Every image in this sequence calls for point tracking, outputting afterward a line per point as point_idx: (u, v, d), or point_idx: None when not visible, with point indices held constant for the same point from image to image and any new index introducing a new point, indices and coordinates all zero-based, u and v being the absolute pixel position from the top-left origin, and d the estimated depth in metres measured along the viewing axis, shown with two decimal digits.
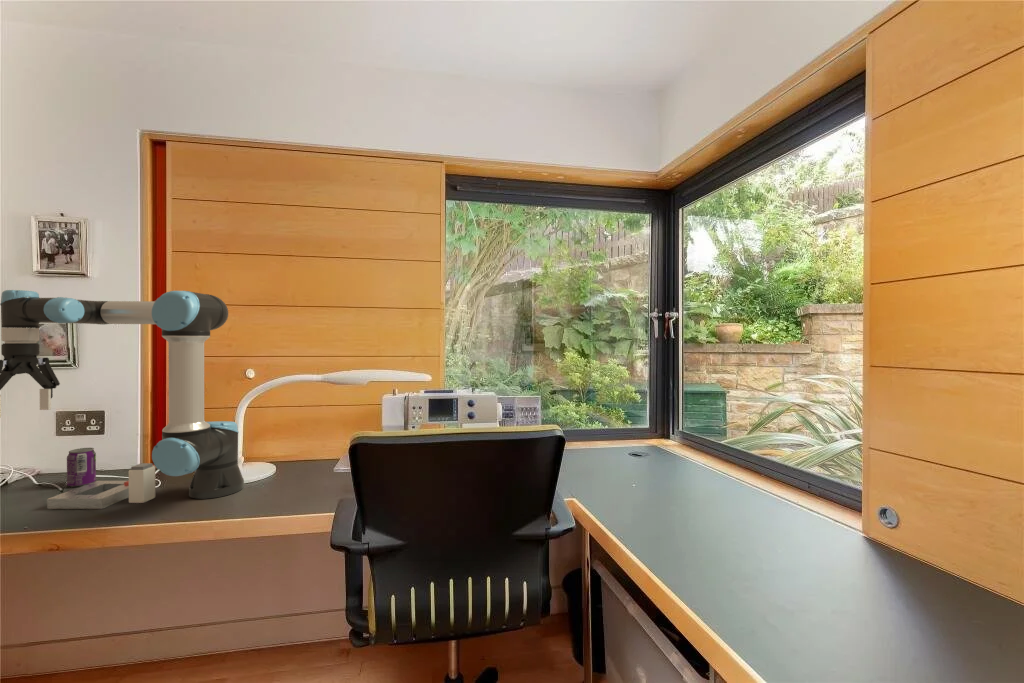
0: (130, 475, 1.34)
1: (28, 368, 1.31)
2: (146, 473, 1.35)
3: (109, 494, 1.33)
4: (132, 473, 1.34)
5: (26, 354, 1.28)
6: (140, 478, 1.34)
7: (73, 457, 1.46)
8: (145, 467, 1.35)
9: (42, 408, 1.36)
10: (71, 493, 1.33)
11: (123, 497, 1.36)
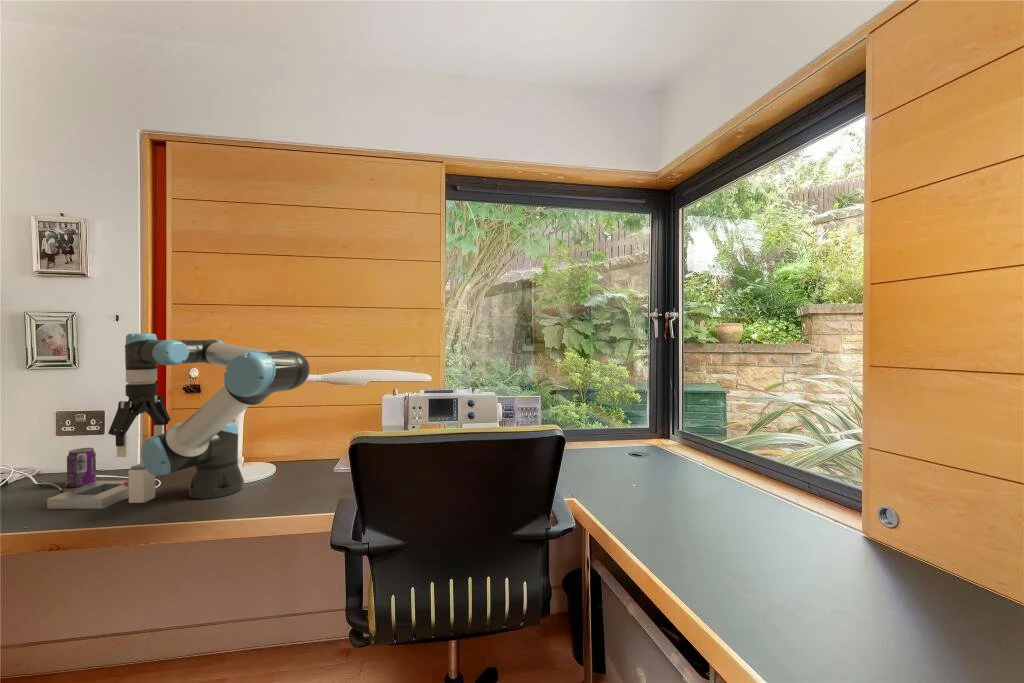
0: (130, 475, 1.34)
1: (147, 407, 1.37)
2: (146, 473, 1.35)
3: (109, 494, 1.33)
4: (132, 473, 1.34)
5: (148, 394, 1.34)
6: (140, 478, 1.34)
7: (73, 457, 1.46)
8: None
9: None
10: (71, 493, 1.33)
11: (123, 497, 1.36)
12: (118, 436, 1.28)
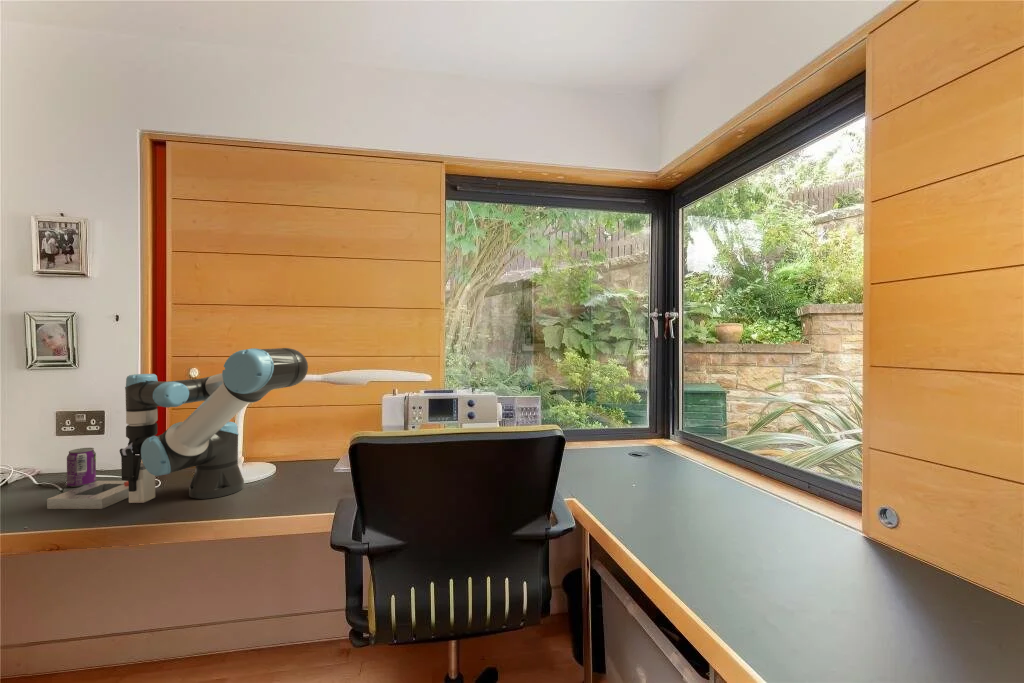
0: None
1: None
2: (146, 473, 1.35)
3: (109, 494, 1.33)
4: None
5: (148, 435, 1.34)
6: (140, 478, 1.34)
7: (73, 457, 1.46)
8: None
9: None
10: (71, 493, 1.33)
11: (123, 497, 1.36)
12: (131, 482, 1.32)
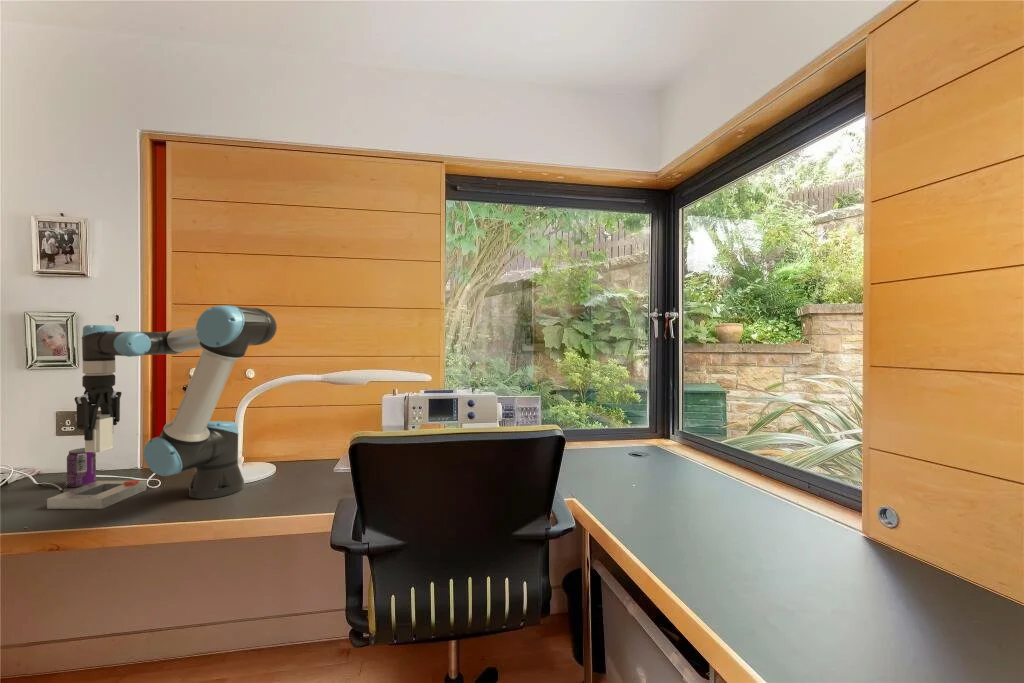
0: None
1: (105, 398, 1.38)
2: (103, 423, 1.36)
3: (109, 494, 1.33)
4: None
5: (105, 386, 1.35)
6: (96, 427, 1.34)
7: (73, 457, 1.46)
8: (102, 417, 1.36)
9: None
10: (71, 493, 1.33)
11: (123, 497, 1.36)
12: (87, 431, 1.33)
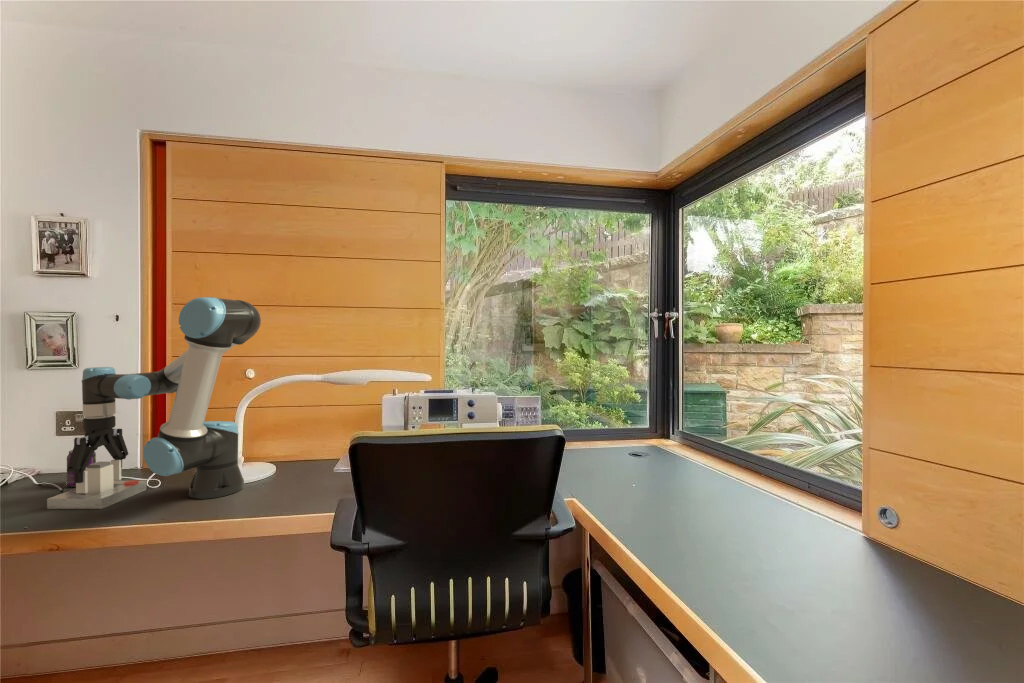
0: None
1: (105, 440, 1.38)
2: (103, 471, 1.36)
3: (109, 494, 1.33)
4: (89, 471, 1.35)
5: (105, 428, 1.35)
6: (97, 476, 1.35)
7: None
8: (102, 465, 1.36)
9: (113, 479, 1.42)
10: (71, 493, 1.33)
11: (123, 497, 1.36)
12: (77, 473, 1.29)
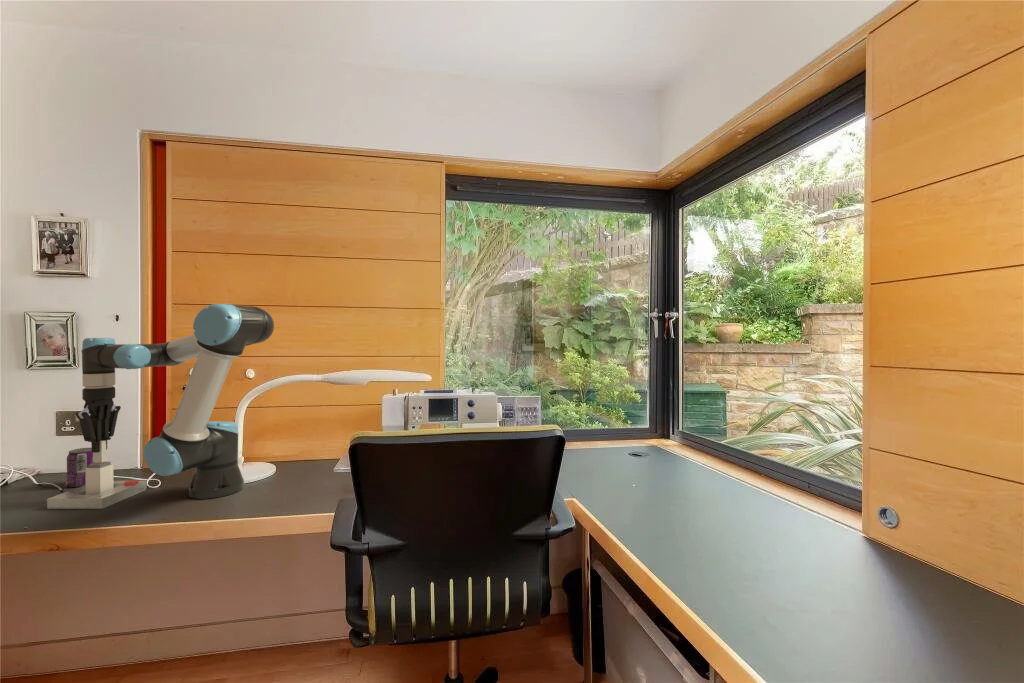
0: (87, 473, 1.35)
1: (105, 411, 1.38)
2: (103, 471, 1.36)
3: (109, 494, 1.33)
4: (89, 471, 1.35)
5: (105, 398, 1.35)
6: (97, 476, 1.35)
7: (73, 457, 1.46)
8: (102, 465, 1.36)
9: None
10: (71, 493, 1.33)
11: (123, 497, 1.36)
12: (94, 443, 1.35)
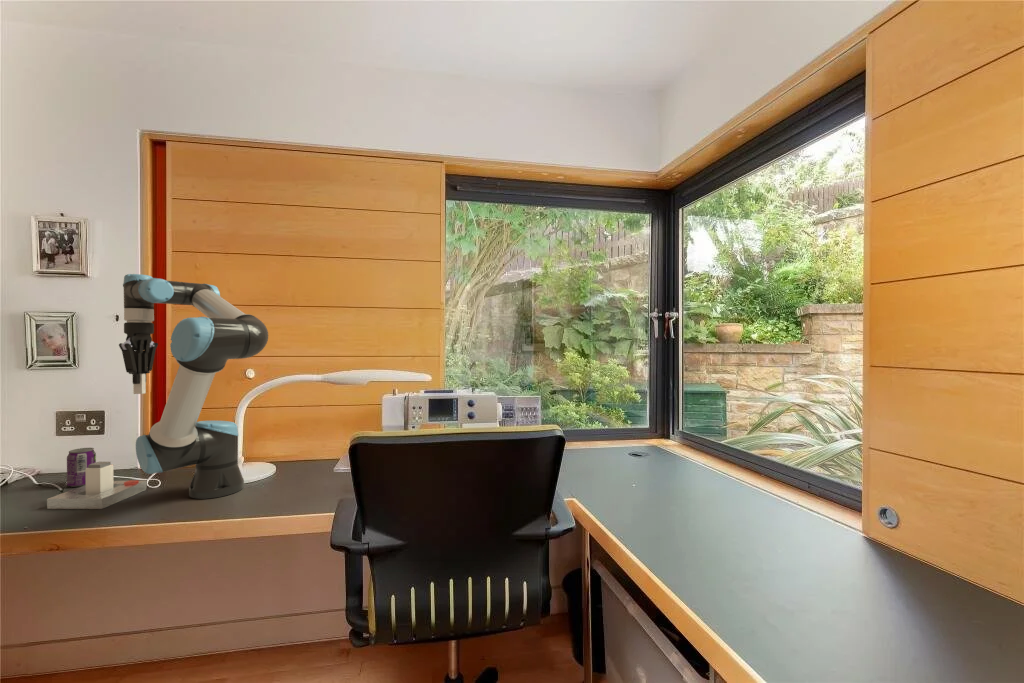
0: (87, 473, 1.35)
1: (145, 345, 1.44)
2: (103, 471, 1.36)
3: (109, 494, 1.33)
4: (89, 471, 1.35)
5: (145, 332, 1.42)
6: (97, 476, 1.35)
7: (73, 457, 1.46)
8: (102, 465, 1.36)
9: None
10: (71, 493, 1.33)
11: (123, 497, 1.36)
12: (135, 374, 1.41)
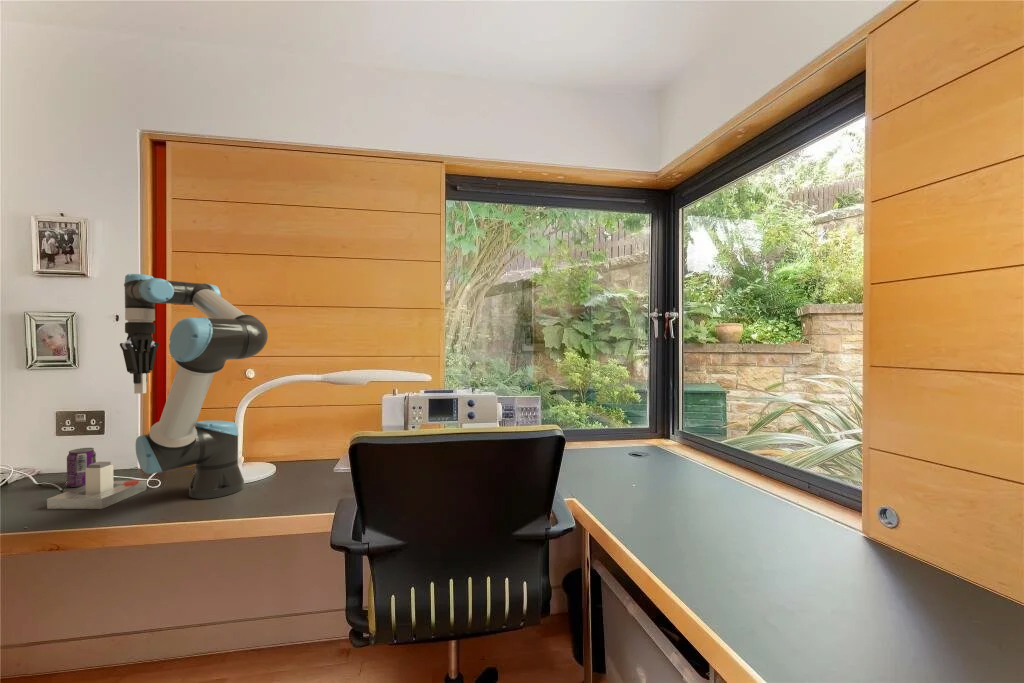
0: (87, 473, 1.35)
1: (146, 345, 1.44)
2: (103, 471, 1.36)
3: (109, 494, 1.33)
4: (89, 471, 1.35)
5: (146, 332, 1.42)
6: (97, 476, 1.35)
7: (73, 457, 1.46)
8: (102, 465, 1.36)
9: None
10: (71, 493, 1.33)
11: (123, 497, 1.36)
12: (136, 374, 1.42)
